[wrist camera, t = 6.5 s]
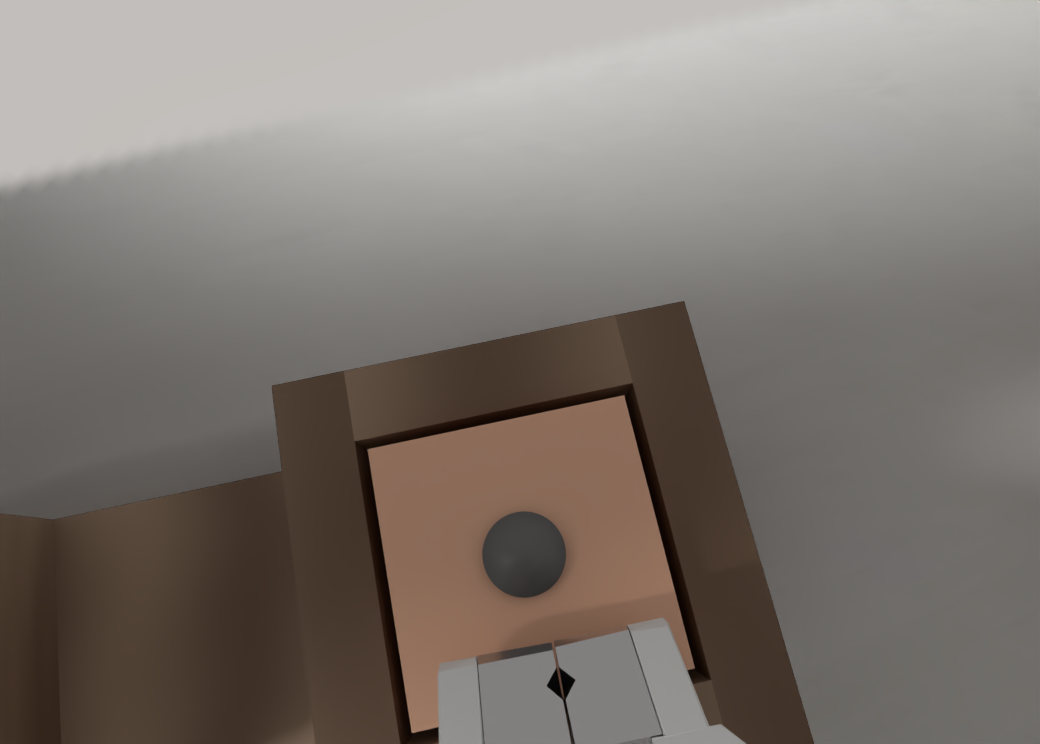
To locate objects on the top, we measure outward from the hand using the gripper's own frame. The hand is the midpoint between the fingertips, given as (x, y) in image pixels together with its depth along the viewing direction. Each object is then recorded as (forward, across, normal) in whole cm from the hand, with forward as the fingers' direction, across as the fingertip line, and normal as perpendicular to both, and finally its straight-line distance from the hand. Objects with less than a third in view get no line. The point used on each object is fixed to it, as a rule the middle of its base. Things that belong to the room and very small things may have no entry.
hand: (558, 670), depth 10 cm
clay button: (+4, 0, +1) cm, 4 cm away
